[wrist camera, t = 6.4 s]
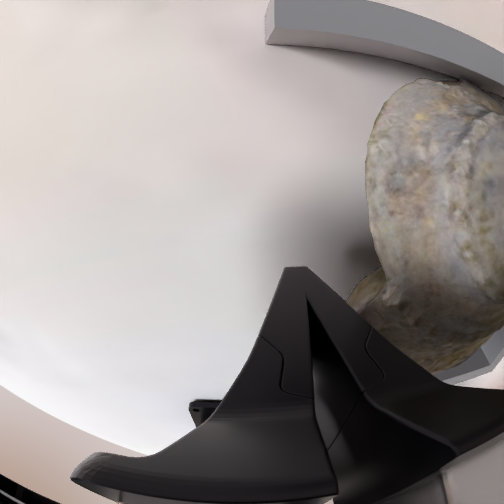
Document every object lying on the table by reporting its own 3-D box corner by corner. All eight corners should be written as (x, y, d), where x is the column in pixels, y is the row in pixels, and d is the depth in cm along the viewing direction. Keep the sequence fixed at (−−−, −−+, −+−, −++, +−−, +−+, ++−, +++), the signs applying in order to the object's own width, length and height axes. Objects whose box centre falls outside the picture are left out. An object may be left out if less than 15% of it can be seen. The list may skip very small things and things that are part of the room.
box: (474, 339, 16) (491, 371, 13) (261, 368, 15) (264, 416, 13) (555, 108, 7) (596, 126, 4) (265, 15, 7) (274, -12, 4)
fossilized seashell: (548, 234, 9) (596, 345, 4) (395, 311, 16) (383, 421, 11) (455, 35, 6) (549, 31, 2) (273, 174, 14) (201, 276, 9)
